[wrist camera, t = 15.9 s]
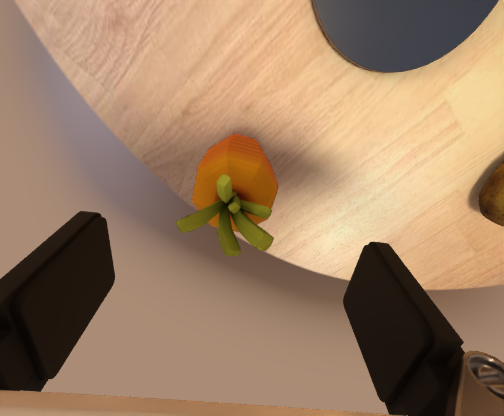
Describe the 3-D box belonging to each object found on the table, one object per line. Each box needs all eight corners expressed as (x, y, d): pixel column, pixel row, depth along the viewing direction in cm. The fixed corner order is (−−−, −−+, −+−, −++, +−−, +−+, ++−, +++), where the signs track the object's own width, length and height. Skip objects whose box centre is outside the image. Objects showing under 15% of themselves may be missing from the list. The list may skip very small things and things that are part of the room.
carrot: (201, 150, 24) (145, 253, 11) (233, 104, 22) (212, 160, 9) (245, 181, 26) (242, 304, 12) (278, 140, 24) (316, 233, 11)
